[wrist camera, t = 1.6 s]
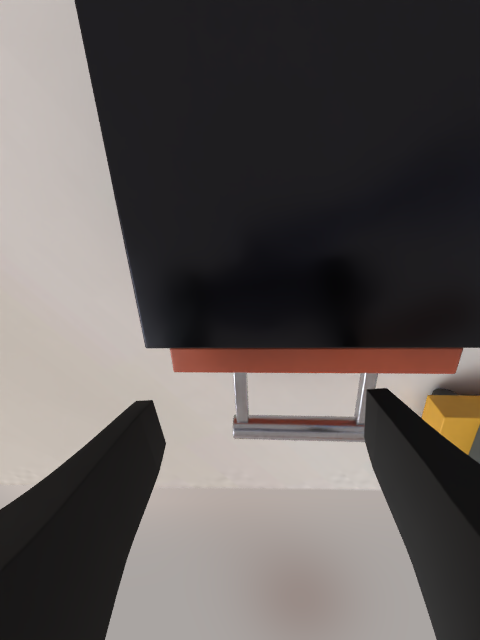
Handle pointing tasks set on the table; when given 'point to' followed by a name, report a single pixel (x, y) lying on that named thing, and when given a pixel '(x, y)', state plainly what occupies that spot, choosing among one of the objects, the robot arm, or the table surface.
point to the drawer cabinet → (294, 168)
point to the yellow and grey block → (455, 419)
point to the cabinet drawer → (310, 362)
